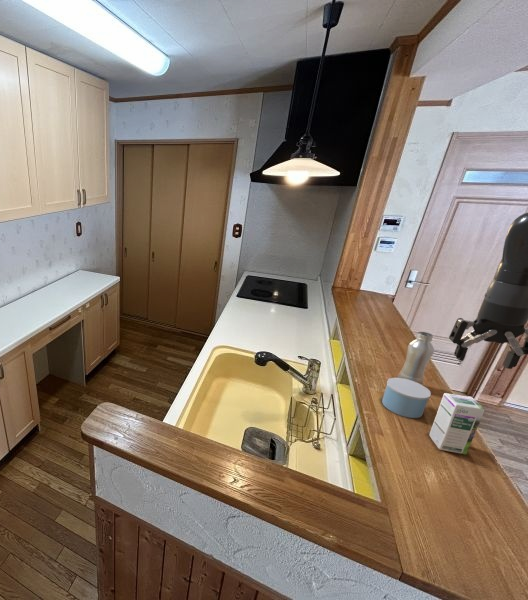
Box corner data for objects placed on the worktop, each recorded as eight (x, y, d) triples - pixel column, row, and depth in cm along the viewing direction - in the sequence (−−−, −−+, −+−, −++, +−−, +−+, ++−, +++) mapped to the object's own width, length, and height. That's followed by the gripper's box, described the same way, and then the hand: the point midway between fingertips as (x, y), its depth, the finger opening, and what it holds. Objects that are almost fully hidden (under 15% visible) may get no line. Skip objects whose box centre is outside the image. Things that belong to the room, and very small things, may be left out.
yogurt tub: (417, 402, 104) (424, 382, 101) (428, 422, 95) (436, 401, 93) (378, 393, 108) (383, 374, 106) (385, 412, 100) (391, 392, 97)
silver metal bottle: (398, 377, 117) (414, 327, 110) (422, 386, 112) (441, 334, 105) (393, 384, 113) (409, 333, 106) (418, 393, 108) (437, 340, 101)
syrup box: (439, 450, 86) (457, 405, 81) (427, 434, 91) (444, 391, 86) (466, 455, 84) (486, 409, 79) (453, 439, 89) (471, 395, 84)
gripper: (473, 301, 72) (450, 364, 78) (566, 311, 67) (533, 378, 72) (459, 291, 79) (438, 350, 84) (543, 299, 73) (514, 362, 78)
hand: (482, 363), depth 78 cm, fingers open, 8 cm apart
